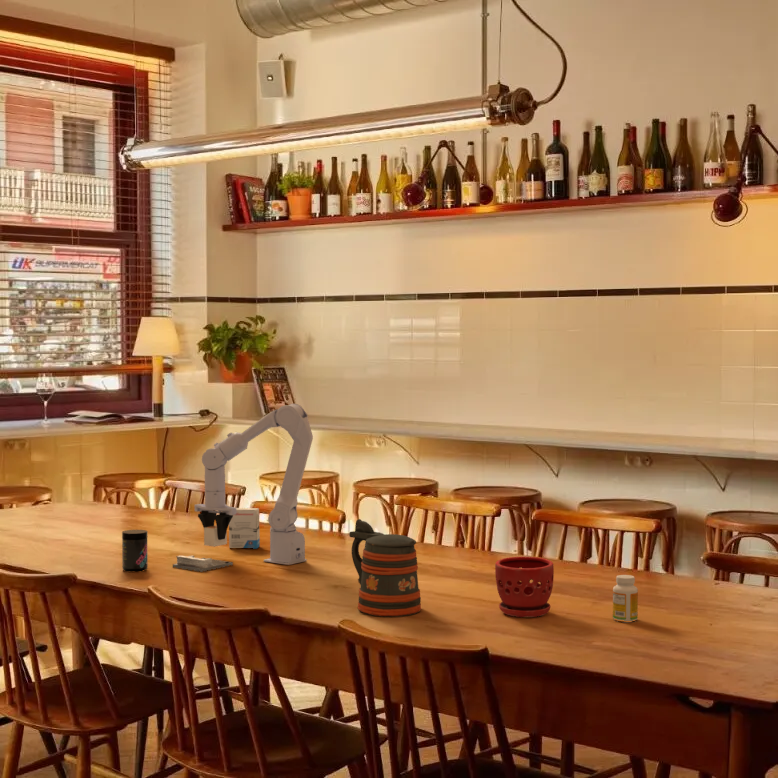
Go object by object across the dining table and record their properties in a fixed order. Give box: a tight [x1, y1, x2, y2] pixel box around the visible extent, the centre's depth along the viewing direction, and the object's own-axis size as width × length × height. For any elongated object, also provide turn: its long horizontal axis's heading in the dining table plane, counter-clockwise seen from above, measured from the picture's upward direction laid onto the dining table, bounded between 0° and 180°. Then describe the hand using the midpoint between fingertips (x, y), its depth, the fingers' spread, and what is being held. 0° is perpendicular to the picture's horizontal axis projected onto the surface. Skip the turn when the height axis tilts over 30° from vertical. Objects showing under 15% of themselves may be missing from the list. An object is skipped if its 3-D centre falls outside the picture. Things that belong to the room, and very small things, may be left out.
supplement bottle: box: [612, 574, 639, 621], centre depth 261 cm, size 5×5×10 cm
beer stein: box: [348, 518, 422, 618], centre depth 271 cm, size 19×15×20 cm
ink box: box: [228, 507, 261, 550], centre depth 352 cm, size 9×5×12 cm, turn 84°
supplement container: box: [121, 529, 149, 572], centre depth 317 cm, size 7×7×10 cm
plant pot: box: [494, 556, 555, 618], centre depth 266 cm, size 13×13×12 cm
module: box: [203, 524, 228, 548], centre depth 333 cm, size 4×5×5 cm
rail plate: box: [172, 555, 234, 573], centre depth 322 cm, size 11×12×3 cm
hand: (215, 538), depth 333 cm, fingers closed on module, 4 cm apart
